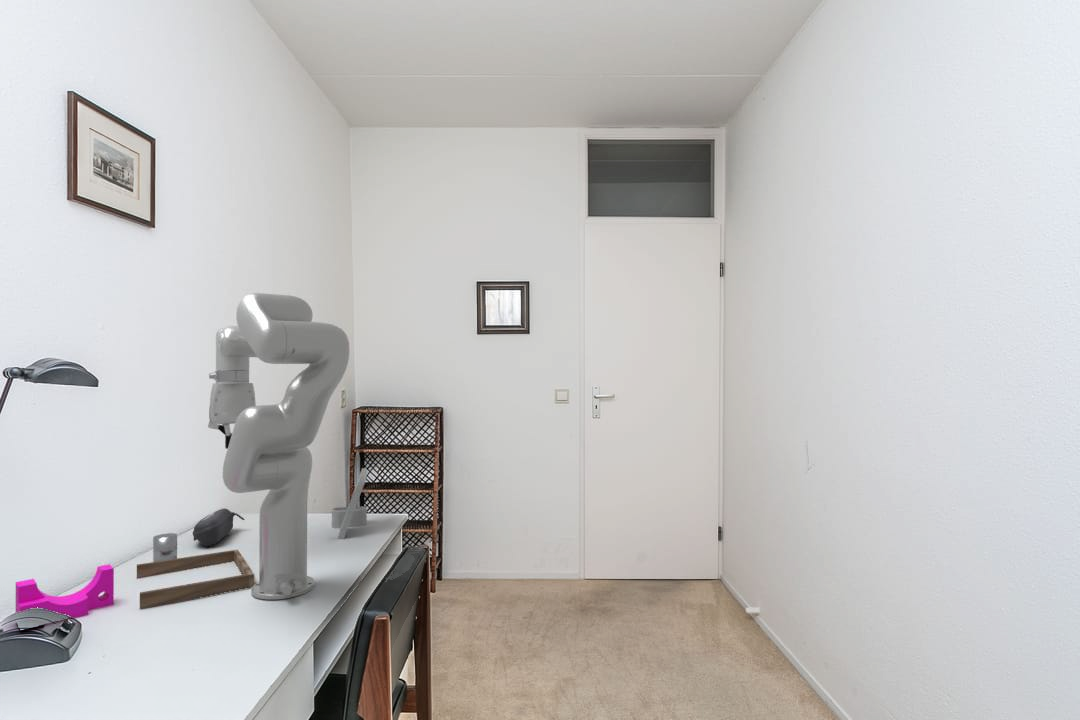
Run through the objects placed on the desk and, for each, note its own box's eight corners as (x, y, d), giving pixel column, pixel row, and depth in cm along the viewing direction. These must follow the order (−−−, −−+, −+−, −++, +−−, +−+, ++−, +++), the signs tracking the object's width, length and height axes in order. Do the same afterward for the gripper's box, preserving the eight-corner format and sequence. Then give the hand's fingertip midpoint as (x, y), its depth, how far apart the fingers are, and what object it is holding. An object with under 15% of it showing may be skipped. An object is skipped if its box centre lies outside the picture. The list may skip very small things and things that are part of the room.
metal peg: (177, 565, 152) (178, 536, 152) (153, 569, 149) (153, 540, 149) (176, 560, 156) (176, 532, 156) (152, 564, 154) (152, 535, 154)
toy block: (19, 631, 115) (20, 590, 115) (15, 621, 120) (15, 582, 120) (116, 608, 126) (116, 571, 126) (109, 600, 131) (109, 564, 131)
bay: (254, 588, 137) (254, 574, 137) (139, 609, 125) (139, 593, 126) (237, 561, 155) (237, 549, 156) (136, 577, 144) (136, 564, 144)
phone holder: (332, 528, 186) (332, 468, 186) (367, 526, 189) (367, 466, 189) (327, 545, 170) (327, 478, 170) (366, 542, 172) (366, 476, 172)
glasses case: (206, 533, 181) (207, 506, 181) (246, 531, 183) (246, 505, 183) (185, 552, 163) (185, 522, 163) (228, 550, 165) (228, 520, 165)
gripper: (201, 378, 150) (200, 455, 150) (268, 377, 158) (267, 450, 158) (196, 377, 156) (196, 451, 156) (261, 377, 165) (261, 447, 165)
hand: (232, 451), depth 157 cm, fingers closed
